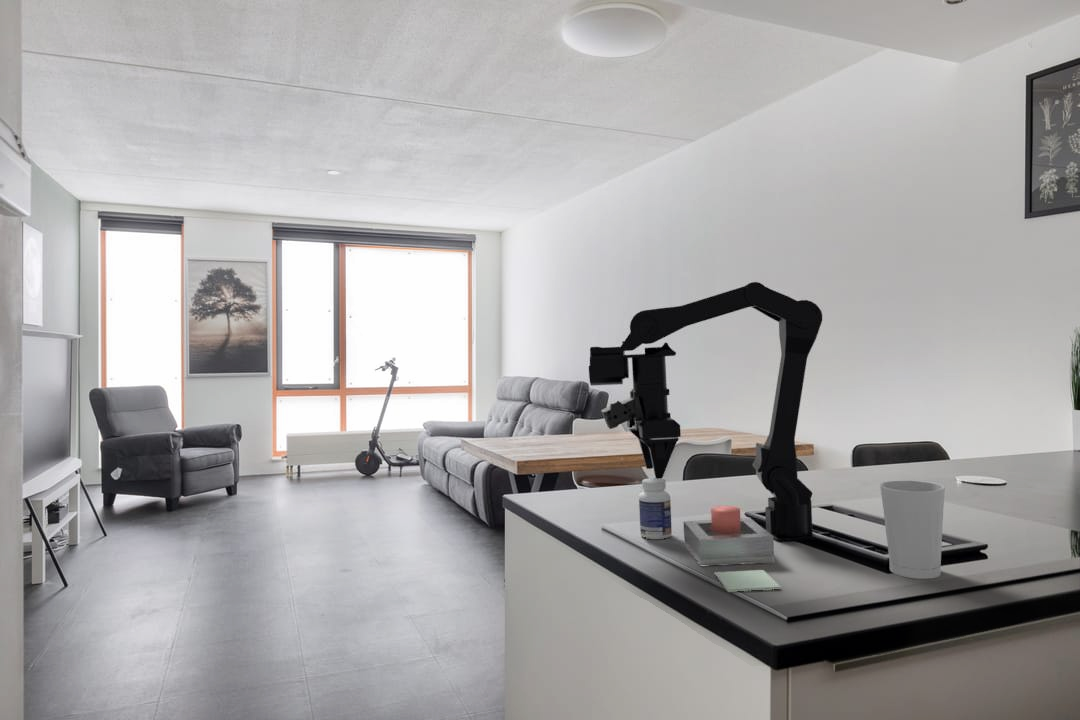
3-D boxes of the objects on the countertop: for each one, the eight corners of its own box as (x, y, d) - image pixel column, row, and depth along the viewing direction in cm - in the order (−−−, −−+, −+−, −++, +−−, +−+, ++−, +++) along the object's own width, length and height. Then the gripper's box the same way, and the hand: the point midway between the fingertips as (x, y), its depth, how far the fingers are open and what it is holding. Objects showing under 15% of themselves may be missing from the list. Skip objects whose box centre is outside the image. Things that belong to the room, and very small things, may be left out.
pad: (763, 572, 100) (763, 569, 100) (780, 589, 93) (780, 586, 93) (714, 575, 100) (714, 572, 100) (728, 592, 93) (728, 589, 93)
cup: (871, 564, 102) (868, 482, 101) (923, 560, 102) (921, 478, 102) (904, 582, 94) (901, 493, 94) (961, 578, 94) (958, 489, 94)
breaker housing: (751, 542, 115) (750, 518, 115) (774, 562, 104) (773, 536, 104) (684, 545, 115) (683, 521, 115) (700, 566, 104) (699, 539, 104)
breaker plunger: (736, 526, 112) (735, 505, 112) (744, 533, 108) (743, 511, 107) (708, 527, 112) (707, 506, 112) (716, 534, 107) (715, 513, 107)
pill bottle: (671, 540, 118) (669, 483, 118) (639, 540, 120) (637, 483, 119) (672, 531, 124) (669, 477, 124) (641, 531, 125) (639, 477, 125)
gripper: (597, 382, 130) (602, 466, 131) (609, 389, 112) (614, 486, 112) (657, 379, 130) (661, 463, 131) (678, 385, 112) (683, 482, 112)
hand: (654, 473), depth 121 cm, fingers open, 9 cm apart
